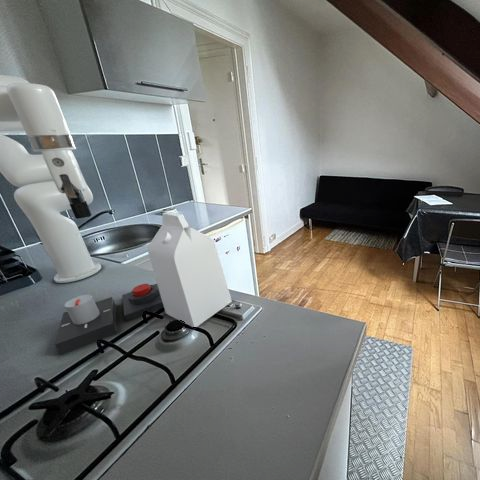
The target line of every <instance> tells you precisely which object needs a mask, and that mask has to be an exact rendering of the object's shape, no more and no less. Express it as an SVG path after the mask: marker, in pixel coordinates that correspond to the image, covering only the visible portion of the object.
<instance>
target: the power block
mask: <svg viewBox="0 0 480 480" xmlns="http://www.w3.org/2000/svg"><path fill="white" fill-rule="evenodd" d="M149 285H150V288H151V292H150V293H148V294H146V295H143V296H139V297H135V296H134V293H133V290H131V291H130V292H126V293H123V294H122V297H121V298H122V307H123V316H124V319H125V321H126V322H127V321H130V320H133V319H135V318H138V317H141V316H144V315H143V312H144V311H148V312H149V313H152V312H154V311H157V310H159V309H162V308H164V305H163V302H162V299H161V295H160V292H159V288H158V285H157V283H154V284H149Z"/></svg>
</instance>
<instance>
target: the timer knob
mask: <svg viewBox="0 0 480 480" xmlns="http://www.w3.org/2000/svg"><path fill="white" fill-rule="evenodd" d="M95 302H96V301H95V299H94V297H93V295H92V294H82V295H78V296H76V297H73V298H71V299H68V301H66V302H65V303H64V308H65V311H66V312H68V314H69V316H70V318H71V319H72V321H73V323H74V324H76V325H79V324H84V323H87V322H90V321H92V320H93V319H95V318H96V317H98V316H99V314H100V312H99V310H98V308H97V306H96V304H95Z"/></svg>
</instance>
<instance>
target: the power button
mask: <svg viewBox="0 0 480 480" xmlns="http://www.w3.org/2000/svg"><path fill="white" fill-rule="evenodd" d="M150 285H151V284H150V283H142V284H139V285H137V286H134V287H133V288H132V291H133V293H134V296H135V297H139V296H143V295H146V294H148V293H150V292H151V288H150Z"/></svg>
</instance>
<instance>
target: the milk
mask: <svg viewBox="0 0 480 480" xmlns="http://www.w3.org/2000/svg"><path fill="white" fill-rule="evenodd" d="M161 215H162V216H161V217H162V225H161V227H160V228H159V229H158V231H156V234H155V235H154V236H153V238H152V240H151V241H150V243H149V245H148V247H147V253H148V257H149V261H150V264H151V267H152V270H153V274H154V278H155V281H156V284H157V285H158V288H159V292H160V295H161V299H162V302H163V305H164V307H163V308H164V313H165V314H166V315H168V316H170V317H172V318H174V319H176V320H178V321H180V320H182V321H184V322H185V323H184V322H183V323H184V324H186V325H187V326H189V327H191V328H193V327H196V328H197V327H199V326H200V325H201V324H203V323H205V322H206V321H207V320H208V319H210V318H211V317H213V316H214V315H215V314H216V313H218V312H220V311H221V310H222V309H224V308H225V307H227V306H228V305H229V304H231V303H233V300H232V296H231V294H230V290H229V286H228V284H227V280H226V277H225V274H224V270H223V267H222V264H221V259H220V257H219V253H218V249H217V247H216V243H215V241H214V240H213V239H212V238H211V237H210V236H208V235H206V234H204V233H203V232H200V231H199V230H196V229H195V228H193V227H190V225H189V223H188V221H187V219H186V217H185V216H184V214H182V213H178V212H177V213H176V212H172V211H167V212H163V213H162V214H161ZM182 321H181V322H182Z"/></svg>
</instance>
